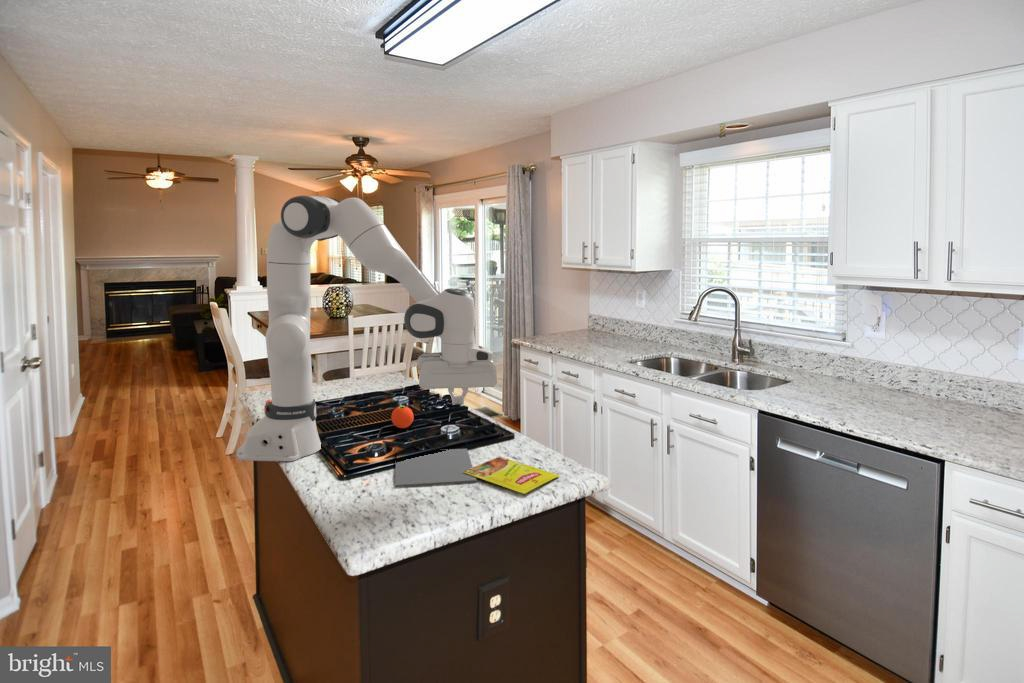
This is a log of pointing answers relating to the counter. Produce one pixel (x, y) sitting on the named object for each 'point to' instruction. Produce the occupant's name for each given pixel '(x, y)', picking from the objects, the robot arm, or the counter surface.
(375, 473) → the counter surface
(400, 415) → the clementine
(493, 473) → the food package
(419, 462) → the mat
